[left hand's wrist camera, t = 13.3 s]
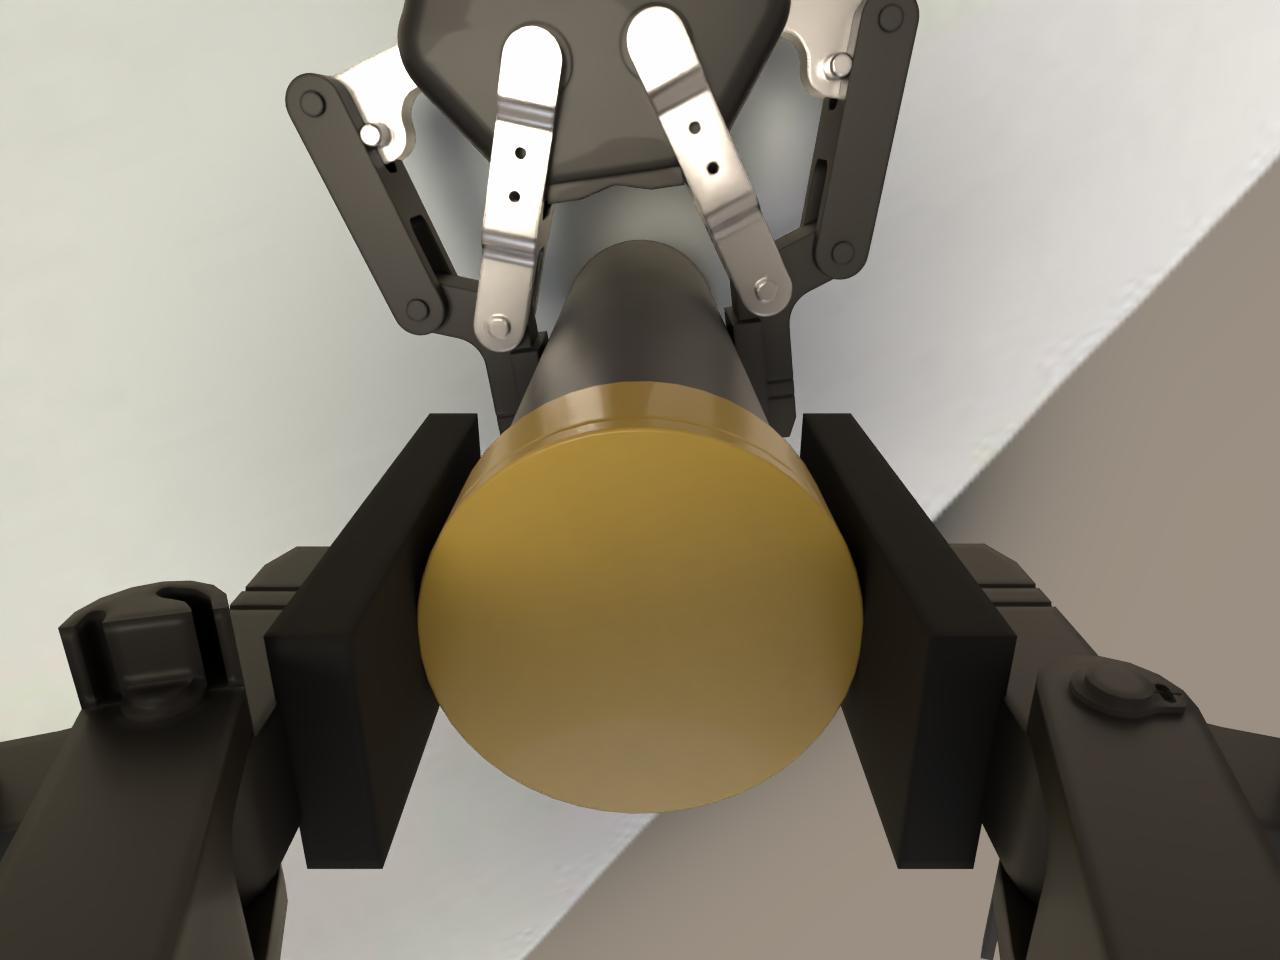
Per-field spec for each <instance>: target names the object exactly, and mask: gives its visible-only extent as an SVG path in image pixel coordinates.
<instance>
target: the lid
mask: <svg viewBox="0 0 1280 960" xmlns="http://www.w3.org/2000/svg"><path fill="white" fill-rule="evenodd" d="M863 622H864V611H863V596H862V591H861V587H860V582H859V578H858V573H857V569H856V567H855V564H854V562H853V559H852V556H851V554H850V551H849V549H848V546H847V544H846V542H845V540H844V538H843V536H842V534H841V533H840V530H839V528H838V526H837V524H836V522H835V520H834V518H833V516H832V514H831V512H830V510H829V508H828V506H827V504H826V502H825V500H824V498H823V496H822V494H821V492H820V490H819V488H818V486H817V484H816V483H815V481H814V479H813V477H812V476H811V474H810V472H809V470H808V469H807V467H806V465H805V464H804V462H803V461H802V460H801V459H800V457H799V456H798V455H797V453H796V452H795V451H794V450H793V448H792V447H791V446H790V445H789V444H788V443H787V442H786V441H785V440H784V439H783V438H782V437H781V436H780V435H779V434H778V433H777V432H776V431H775V430H774V429H773V428H772V427H770V426H769V425H768V424H766V423H765V422H764V421H762V420H761V419H759V418H758V417H757V416H755V415H754V414H753V413H751V412H749V411H748V410H746V409H744V408H742V407H740V406H738V405H736V404H735V403H733V402H731V401H729V400H727V399H724V398H722V397H719V396H716V395H714V394H711V393H709V392H706V391H703V390H699V389H695V388H691V387H687V386H682V385H678V384H671V383H661V382H652V381H637V382H618V383H611V384H604V385H597V386H593V387H589V388H586V389H582V390H579V391H575V392H572V393H569V394H566V395H564V396H562V397H559V398H557V399H555V400H552V401H550V402H548V403H545V404H544V405H542V406H540V407H539V408H537V409H535V410H534V411H532V412H530V413H529V414H527V415H525V416H524V417H522V418H521V419H520V420H518V421H517V422H516V423H515V424H513V425H512V426H511V427H510V428H508V429H507V430H506V431H505V432H503V433H502V434H501V435H500V436H499V437H498V438H497V440H496V441H495V442H494V443H493V444H492V445H491V446H490V447H489V448H488V449H487V450H486V451H485V453H484V454H483V455H482V457H481V458H480V460H479V461H478V462H477V464H476V465H475V467H474V468H473V469H472V471H471V473H470V475H469V477H468V479H467V481H466V483H465V485H464V487H463V488H462V490H461V492H460V494H459V496H458V498H457V500H456V502H455V504H454V506H453V508H452V510H451V512H450V514H449V516H448V518H447V520H446V522H445V524H444V526H443V528H442V530H441V532H440V534H439V536H438V539H437V541H436V542H435V544H434V546H433V548H432V550H431V552H430V555H429V558H428V561H427V564H426V567H425V570H424V573H423V576H422V579H421V585H420V591H419V597H418V603H417V626H418V635H419V644H420V653H421V658H422V662H423V665H424V669H425V672H426V676H427V679H428V681H429V684H430V686H431V688H432V690H433V692H434V695H435V697H436V699H437V701H438V703H439V705H440V706H441V708H442V709H443V711H444V713H445V714H446V716H447V717H448V719H449V721H450V722H451V724H452V725H453V726H454V727H455V728H456V730H457V731H458V732H459V733H460V734H461V736H462V737H463V738H464V739H465V740H466V742H467V743H468V744H469V745H470V746H471V747H473V748H474V749H475V750H476V751H477V752H478V753H479V754H480V755H481V756H482V757H483V758H484V759H485V760H487V761H488V762H489V763H491V764H492V765H493V766H495V767H496V768H498V769H499V770H500V771H502V772H503V773H504V774H506V775H507V776H509V777H511V778H513V779H514V780H516V781H518V782H520V783H521V784H523V785H525V786H527V787H528V788H530V789H533V790H535V791H537V792H540V793H542V794H545V795H547V796H549V797H552V798H554V799H557V800H561V801H564V802H567V803H570V804H574V805H577V806H581V807H586V808H592V809H597V810H602V811H610V812H622V813H661V812H669V811H678V810H685V809H689V808H694V807H699V806H703V805H707V804H711V803H714V802H717V801H720V800H723V799H726V798H729V797H732V796H734V795H737V794H739V793H741V792H743V791H745V790H747V789H750V788H752V787H754V786H756V785H758V784H760V783H761V782H763V781H765V780H766V779H768V778H770V777H771V776H773V775H775V774H776V773H778V772H779V771H781V770H782V769H783V768H785V767H786V766H787V765H789V764H790V763H791V762H792V761H794V760H795V759H796V758H798V757H799V756H800V755H801V754H802V753H803V752H804V751H805V750H806V749H807V748H808V747H809V746H810V745H811V744H812V743H813V742H814V741H815V740H816V739H817V738H818V737H819V736H820V734H821V733H822V732H823V731H824V729H825V728H826V727H827V725H828V724H829V723H830V721H831V720H832V719H833V717H834V716H835V714H836V712H837V711H838V709H839V707H840V706H841V704H842V702H843V700H844V699H845V697H846V695H847V692H848V690H849V687H850V685H851V683H852V680H853V678H854V675H855V673H856V669H857V665H858V661H859V656H860V650H861V641H862V632H863Z"/></svg>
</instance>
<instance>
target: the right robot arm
mask: <svg viewBox="0 0 1280 960" xmlns="http://www.w3.org/2000/svg"><path fill="white" fill-rule="evenodd" d="M918 22H919V8H918V4H917V1H916V0H405V3H404V8H403V12H402V15H401V18H400V22H399V27H398V45H396V46H394V47H392V48H390V49H388V50H386V51H384V52H382V53H379V54H377V55H375V56H373V57H371V58H369V59H367V60H365V61H363V62H361V63H359V64H357V65H355V66H353V67H350V68H348V69H346V70H344V71H342V72H340V73H338V74H336V75H334V76H325V75H320V74H314V73H305V74H301V75H299V76H297V77H296V78H295V79H293V80H292V82H291V83H290V84H289V86H288V88H287V91H286V96H285V102H286V108H287V111H288V114H289V116H290V118H291V120H292V122H293V124H294V125H295V127H296V129H297V131H298V133H299V135H300V137H301V139H302V141H303V143H304V145H305V147H306V149H307V150H308V152H309V154H310V156H311V158H312V160H313V162H314V164H315V166H316V168H317V170H318V172H319V174H320V175H321V177H322V179H323V181H324V183H325V185H326V187H327V189H328V191H329V193H330V195H331V197H332V198H333V200H334V202H335V204H336V206H337V208H338V210H339V212H340V214H341V216H342V218H343V220H344V222H345V223H346V225H347V227H348V229H349V231H350V233H351V235H352V237H353V239H354V241H355V243H356V245H357V246H358V248H359V250H360V252H361V254H362V256H363V258H364V260H365V262H366V264H367V266H368V268H369V270H370V271H371V273H372V275H373V277H374V279H375V281H376V283H377V285H378V287H379V289H380V291H381V293H382V295H383V296H384V298H385V300H386V302H387V304H388V306H389V308H390V310H391V312H392V314H393V316H394V318H395V319H396V321H397V323H398V324H399V325H400V326H401V327H402V328H403V329H404V330H405V331H407V332H409V333H411V334H415V335H427V334H430V333H436V334H441V335H446V336H450V337H455V338H459V339H463V340H465V341H467V342H469V343H471V344H472V345H473V346H475V347H476V348H477V349H478V350H479V352H480V353H481V355H482V356H483V358H484V361H485V364H486V368H487V373H488V378H489V383H490V388H491V393H492V397H493V402H494V407H495V412H496V415H497V422H498V427H499V430H500V435H501V434H502V433H503V432H505V431H506V430H507V429H508V428H510V427H511V424H512V422H513V420H514V417H515V415H516V413H517V411H518V408H519V406H520V404H521V402H522V399H523V397H524V395H525V392H526V390H527V388H528V386H529V383H530V381H531V379H532V377H533V374H534V372H535V370H536V368H537V365H538V363H539V361H540V358H541V356H542V354H543V352H544V349H545V347H546V345H547V343H548V334H547V331H543V332H538V330H537V324H536V319H535V314H536V308H537V302H538V296H539V289H540V283H541V276H542V270H543V263H544V257H545V251H546V246H547V242H548V238H549V234H550V228H551V222H552V216H553V209H554V203H560V202H567V201H574V200H581V199H584V198H586V197H588V196H590V195H593V194H595V193H597V192H599V191H602V190H604V189H606V188H608V187H611V186H613V185H621V186H628V187H636V188H643V189H658V188H665V187H672V186H679V185H686V187H687V189H688V191H689V194H690V196H691V198H692V200H693V202H694V204H695V207H696V209H697V211H698V213H699V215H700V217H701V219H702V221H703V223H704V225H705V227H706V229H707V232H708V234H709V236H710V238H711V240H712V242H713V245H714V247H715V249H716V251H717V253H718V255H719V258H720V260H721V262H722V264H723V266H724V269H725V271H726V273H727V275H728V277H729V279H730V287H731V297H732V307H726V308H724V310H725V320H726V328H727V331H728V333H729V335H730V337H731V340H732V342H733V344H734V347H735V349H736V351H737V353H738V356H739V358H740V360H741V362H742V365H743V367H744V369H745V371H746V374H747V376H748V378H749V380H750V383H751V385H752V387H753V389H754V392H755V394H756V396H757V398H758V401H759V403H760V405H761V408H762V410H763V412H764V414H765V417H766V419H767V421H768V423H769V426H770V427H772V428H773V429H774V430H775V431H776V432H777V433H778V434H779V435H780V436H781V437H782V438H783V437H790V434H791V431H792V428H793V425H794V422H795V419H796V410H795V396H794V382H793V368H792V355H791V341H790V327H789V320H790V315H791V311H792V309H793V307H794V305H795V304H796V302H797V301H798V300H799V299H800V298H801V297H802V296H803V295H804V294H806V293H807V292H809V291H811V290H813V289H815V288H817V287H819V286H821V285H823V284H824V283H826V282H828V281H830V280H832V279H847V278H850V277H852V276H854V275H855V274H857V273H858V272H859V271H860V270H861V269H862V268H863V266H864V265H865V263H866V261H867V258H868V254H869V249H870V245H871V240H872V235H873V231H874V226H875V221H876V217H877V212H878V207H879V203H880V198H881V194H882V189H883V184H884V180H885V175H886V170H887V166H888V161H889V156H890V152H891V147H892V143H893V138H894V133H895V129H896V124H897V119H898V115H899V110H900V105H901V101H902V96H903V92H904V87H905V82H906V78H907V73H908V68H909V64H910V59H911V54H912V50H913V45H914V41H915V36H916V31H917V27H918ZM779 37H783V38H785V39H787V40H789V41H790V42H791V43H792V44H793V45H794V46H795V48H796V49H797V51H798V53H799V57H800V63H801V65H800V76H801V81H802V84H803V86H804V88H805V89H806V90H807V91H808V92H809V93H810V94H811V95H812V96H814V97H817V98H820V99H824V100H823V106H822V111H821V117H820V122H819V127H818V133H817V138H816V144H815V149H814V154H813V160H812V165H811V171H810V176H809V182H808V187H807V192H806V198H805V203H804V209H803V214H802V219H801V225H800V228H798V229H796V230H794V231H792V232H790V233H789V234H787V235H785V236H783V237H781V238H779V239H777V240H775V241H774V240H773V238H772V236H771V233H770V231H769V229H768V226H767V224H766V222H765V219H764V217H763V215H762V212H761V209H760V205H759V202H758V199H757V196H756V194H755V191H754V189H753V187H752V185H751V182H750V180H749V178H748V175H747V173H746V171H745V168H744V166H743V164H742V161H741V159H740V157H739V154H738V152H737V150H736V148H735V145H734V143H733V141H732V138H731V136H730V134H729V131H730V129H731V127H732V126H733V124H734V122H735V120H736V118H737V116H738V114H739V112H740V111H741V109H742V107H743V105H744V103H745V101H746V99H747V97H748V96H749V94H750V92H751V90H752V88H753V86H754V84H755V82H756V81H757V79H758V77H759V75H760V73H761V71H762V69H763V67H764V65H765V64H766V62H767V60H768V58H769V56H770V54H771V52H772V50H773V49H774V47H775V45H776V43H777V41H778V39H779ZM421 92H423V93H424V94H425V95H426V96H427V98H428V99H429V100H430V101H431V102H432V103H433V104H434V105H435V106H436V107H437V108H438V109H439V110H440V111H441V112H442V113H443V114H444V115H445V116H446V117H447V118H448V119H449V120H450V122H451V123H452V124H453V125H454V126H455V127H456V128H457V129H458V130H459V131H460V132H461V133H462V134H463V135H464V136H465V137H466V138H467V139H468V140H469V141H470V142H471V143H472V144H473V146H474V147H475V148H476V149H477V150H478V151H479V152H480V153H481V154H482V155H483V156H484V157H485V158H486V159H487V160H488V161H489V162H490V163H491V164H490V172H489V180H488V188H487V195H486V203H485V211H484V219H483V227H482V239H481V241H482V262H481V269H480V277H479V280H474V279H470V278H465V277H461V276H457V273H456V271H455V269H454V267H453V265H452V263H451V261H450V259H449V257H448V255H447V253H446V251H445V249H444V247H443V245H442V242H441V240H440V238H439V236H438V234H437V232H436V230H435V228H434V226H433V224H432V222H431V220H430V218H429V216H428V214H427V212H426V209H425V207H424V205H423V203H422V201H421V199H420V197H419V195H418V193H417V191H416V189H415V187H414V185H413V183H412V181H411V178H410V176H409V174H408V172H407V170H406V168H405V166H404V164H403V162H402V160H404V159H405V158H407V157H408V156H409V155H410V154H411V152H412V151H413V149H414V146H415V141H416V134H415V129H414V126H413V123H412V118H411V110H412V105H413V102H414V100H415V98H416V97H417V96H418V95H419V94H420V93H421Z"/></svg>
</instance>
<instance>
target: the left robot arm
mask: <svg viewBox="0 0 1280 960" xmlns="http://www.w3.org/2000/svg"><path fill="white" fill-rule="evenodd" d="M480 458H481V456H480V443H479V429H478V416H477V413H430V414H429V415H428V417H427V418H426V419H425V421H424V422H423V423H422V425H421V426H420V427H419V429H418V430H417V431H416V433H415V434H414V435H413V437H412V438H411V439H410V441H409V442H408V443H407V445H406V446H405V447H404V449H403V450H402V451H401V453H400V454H399V455H398V457H397V458H396V459H395V461H394V462H393V463H392V465H391V466H390V467H389V469H388V470H387V471H386V473H385V474H384V475H383V477H382V478H381V479H380V481H379V482H378V483H377V485H376V486H375V487H374V489H373V490H372V491H371V493H370V494H369V495H368V497H367V498H366V499H365V501H364V502H363V503H362V505H361V506H360V507H359V509H358V510H357V511H356V513H355V514H354V516H353V517H352V518H351V520H350V521H349V522H348V524H347V525H346V526H345V528H344V529H343V530H342V532H341V533H340V534H339V536H338V537H337V538H336V540H335V541H334V542H333V544H332V545H331V546H330V547H295V548H294V549H292V550H290V551H288V552H287V553H285V554H283V555H281V556H280V557H278V558H276V559H275V560H273V561H271V562H269V563H268V564H266V565H264V567H263V568H262V569H261V570H260V571H259V572H258V573H257V575H256V576H255V577H254V578H253V579H252V580H251V581H250V583H249V584H248V585H247V586H246V591H242V592H241V593H240V594H239V595H238V596H237V598H236V599H235V600H234V601H233V602H232V603H231V604H230V610H229V605H228V600H227V595H226V594H225V593H224V592H223V591H221V590H220V589H218V588H217V587H215V586H214V585H211V584H206V583H200V582H195V581H167V582H158V583H153V584H148V585H142V586H137V587H132V588H129V589H126V590H123V591H120V592H117V593H114V594H111V595H108V596H105V597H103V598H100V599H98V600H96V601H94V602H93V603H91V604H89V605H87V606H85V607H83V608H82V609H80V610H78V611H76V612H74V613H73V614H72V615H71V616H70V617H69V618H68V619H67V620H66V621H65V622H64V623H63V624H62V625H61V626H60V627H59V628H58V629H59V633H60V636H61V639H62V643H63V646H64V650H65V653H66V657H67V660H68V663H69V667H70V670H71V674H72V677H73V681H74V684H75V687H76V691H77V694H78V698H79V701H80V705H81V708H82V710H81V712H80V714H79V715H78V717H77V719H76V721H75V723H74V725H73V727H72V728H69V729H65V730H61V731H57V732H51V733H46V734H41V735H36V736H31V737H25V738H20V739H15V740H10V741H4V742H0V960H280V955H281V948H282V940H283V933H284V925H285V918H286V910H287V902H288V899H287V892H286V885H285V880H284V875H283V870H282V865H281V862H282V860H283V858H284V856H285V854H286V852H287V850H288V848H289V846H290V844H291V842H292V840H293V838H294V836H295V834H296V832H297V830H298V828H300V833H301V838H302V843H303V849H304V854H305V859H306V864H307V869H383V866H384V863H385V860H386V857H387V855H388V852H389V849H390V846H391V843H392V840H393V837H394V835H395V832H396V829H397V826H398V823H399V820H400V817H401V814H402V812H403V809H404V806H405V803H406V800H407V797H408V794H409V792H410V789H411V786H412V783H413V780H414V777H415V774H416V772H417V769H418V766H419V763H420V760H421V757H422V754H423V752H424V749H425V746H426V743H427V740H428V737H429V734H430V732H431V729H432V726H433V723H434V720H435V717H436V714H437V712H438V709H439V706H440V705H439V703H438V701H437V699H436V697H435V695H434V692H433V690H432V688H431V686H430V684H429V681H428V679H427V676H426V672H425V669H424V665H423V662H422V658H421V653H420V644H419V635H418V626H417V603H418V597H419V591H420V585H421V579H422V576H423V573H424V570H425V567H426V564H427V561H428V558H429V555H430V552H431V550H432V548H433V546H434V544H435V542H436V541H437V539H438V536H439V534H440V532H441V530H442V528H443V526H444V524H445V522H446V520H447V518H448V516H449V514H450V512H451V510H452V508H453V506H454V504H455V502H456V500H457V498H458V496H459V494H460V492H461V490H462V488H463V487H464V485H465V483H466V481H467V479H468V477H469V475H470V473H471V471H472V469H473V468H474V467H475V465H476V464H477V462H478V461H479V460H480ZM800 459H801V460H802V461H803V462H804V464H805V465H806V467H807V469H808V470H809V472H810V474H811V476H812V477H813V479H814V481H815V483H816V484H817V486H818V488H819V490H820V492H821V494H822V496H823V498H824V500H825V502H826V504H827V506H828V508H829V510H830V512H831V514H832V516H833V518H834V520H835V522H836V524H837V526H838V528H839V530H840V533H841V534H842V536H843V538H844V540H845V542H846V544H847V546H848V549H849V551H850V554H851V556H852V559H853V562H854V564H855V567H856V569H857V573H858V578H859V582H860V587H861V591H862V596H863V611H864V622H863V632H862V641H861V650H860V656H859V661H858V665H857V669H856V673H855V675H854V678H853V680H852V683H851V685H850V687H849V690H848V692H847V695H846V697H845V699H844V700H843V702H842V704H841V707H842V710H843V713H844V716H845V719H846V721H847V724H848V727H849V730H850V733H851V736H852V738H853V741H854V744H855V747H856V750H857V753H858V756H859V759H860V761H861V764H862V767H863V770H864V773H865V776H866V779H867V781H868V784H869V787H870V790H871V793H872V796H873V799H874V801H875V804H876V807H877V810H878V813H879V816H880V819H881V821H882V824H883V827H884V830H885V833H886V836H887V839H888V841H889V844H890V847H891V850H892V853H893V856H894V859H895V861H896V864H897V867H898V869H973V867H974V862H975V857H976V851H977V846H978V841H979V836H980V831H981V825H982V824H983V826H984V828H985V830H986V832H987V834H988V836H989V838H990V840H991V842H992V844H993V846H994V848H995V850H996V852H997V854H998V856H999V858H1000V860H999V865H998V870H997V875H996V880H995V885H994V889H993V894H992V899H991V904H990V909H989V914H988V919H987V924H986V929H985V934H984V939H983V945H982V952H981V958H984V959H988V960H993V957H994V952H995V947H996V943H997V941H998V946H999V953H1000V960H1280V738H1276V737H1271V736H1266V735H1261V734H1255V733H1250V732H1245V731H1240V730H1234V729H1229V728H1223V727H1219V726H1215V725H1211V724H1207V723H1206V721H1205V719H1204V717H1203V716H1202V714H1201V712H1200V710H1199V708H1198V707H1197V706H1196V705H1195V703H1194V702H1193V701H1192V700H1191V699H1190V698H1189V697H1188V695H1187V694H1186V693H1185V692H1184V691H1183V690H1182V689H1180V688H1179V687H1177V686H1176V685H1174V684H1173V683H1171V682H1169V681H1168V680H1166V679H1165V678H1163V677H1162V676H1160V675H1158V674H1156V673H1153V672H1151V671H1149V670H1146V669H1144V668H1141V667H1139V666H1136V665H1134V664H1131V663H1128V662H1123V661H1119V660H1115V659H1110V658H1106V657H1101V656H1098V655H1097V654H1096V652H1095V651H1094V650H1093V649H1092V648H1091V647H1090V646H1089V644H1088V643H1087V642H1086V641H1085V640H1084V639H1083V638H1082V636H1081V635H1080V634H1079V633H1078V632H1077V631H1076V630H1075V628H1074V627H1073V626H1072V625H1071V624H1070V623H1069V622H1068V620H1067V619H1066V618H1065V617H1064V616H1063V615H1062V614H1061V612H1060V611H1059V610H1058V609H1057V608H1056V607H1052V606H1051V601H1050V600H1049V599H1048V598H1047V596H1046V595H1045V594H1044V593H1043V592H1042V591H1041V590H1040V589H1039V588H1036V587H1035V583H1034V582H1033V580H1032V579H1031V578H1030V577H1029V576H1028V575H1027V574H1026V573H1025V571H1024V570H1023V569H1022V568H1021V567H1020V566H1019V565H1018V563H1017V562H1015V561H1013V560H1012V559H1010V558H1008V557H1006V556H1005V555H1003V554H1001V553H999V552H998V551H996V550H994V549H993V548H991V547H989V546H987V545H986V544H948V543H947V541H946V540H945V539H944V537H943V536H942V535H941V533H940V532H939V531H938V529H937V528H936V527H935V525H934V524H933V523H932V521H931V520H930V519H929V517H928V516H927V515H926V513H925V512H924V511H923V509H922V508H921V507H920V505H919V504H918V503H917V501H916V500H915V499H914V497H913V496H912V495H911V493H910V492H909V491H908V489H907V488H906V487H905V485H904V484H903V483H902V481H901V480H900V479H899V477H898V476H897V475H896V473H895V472H894V471H893V469H892V468H891V467H890V465H889V464H888V463H887V461H886V460H885V459H884V457H883V456H882V455H881V453H880V452H879V451H878V449H877V448H876V447H875V445H874V444H873V443H872V441H871V440H870V439H869V437H868V436H867V435H866V433H865V432H864V431H863V429H862V428H861V427H860V425H859V424H858V423H857V421H856V420H855V419H854V417H853V416H852V415H851V413H803V423H802V437H801V450H800Z"/></svg>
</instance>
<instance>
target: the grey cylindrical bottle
mask: <svg viewBox="0 0 1280 960" xmlns="http://www.w3.org/2000/svg"><path fill="white" fill-rule="evenodd" d="M637 381H652V382H661V383H671V384H678V385H682V386H687V387H691V388H695V389H699V390H703V391H706V392H709V393H711V394H714V395H716V396H719V397H722V398H724V399H727V400H729V401H731V402H733V403H735V404H736V405H738V406H740V407H742V408H744V409H746V410H748V411H749V412H751V413H753V414H754V415H755V416H757V417H758V418H759V419H761V420H762V421H764V422H765V423H766V424H768V425H769V423H768V421H767V419H766V417H765V414H764V412H763V410H762V408H761V405H760V403H759V401H758V398H757V396H756V394H755V392H754V389H753V387H752V385H751V383H750V380H749V378H748V376H747V374H746V371H745V369H744V367H743V365H742V362H741V360H740V358H739V356H738V353H737V351H736V349H735V347H734V344H733V342H732V340H731V337H730V335H729V333H728V331H727V328H726V326H725V324H724V322H723V319H722V317H721V315H720V313H719V310H718V308H717V306H716V304H715V301H714V299H713V297H712V295H711V292H710V290H709V288H708V286H707V283H706V281H705V279H704V278H703V276H702V274H701V272H700V271H699V270H698V268H697V267H696V266H695V265H694V264H693V263H692V262H691V261H690V260H689V259H688V258H687V257H686V256H685V255H683V254H682V253H681V252H679V251H677V250H675V249H674V248H672V247H670V246H667V245H665V244H662V243H658V242H654V241H646V240H633V241H627V242H622V243H619V244H615V245H613V246H611V247H609V248H606V249H605V250H603V251H601V252H600V253H598V254H597V255H596V256H594V257H593V258H592V259H591V260H590V261H589V262H588V263H587V264H586V265H585V266H584V267H583V269H582V270H581V271H580V273H579V274H578V276H577V278H576V280H575V282H574V284H573V286H572V288H571V290H570V293H569V295H568V297H567V299H566V302H565V304H564V306H563V309H562V311H561V313H560V315H559V318H558V320H557V322H556V324H555V327H554V329H553V331H552V333H551V336H550V338H549V340H548V343H547V345H546V347H545V349H544V352H543V354H542V356H541V358H540V361H539V363H538V365H537V368H536V370H535V372H534V374H533V377H532V379H531V381H530V383H529V386H528V388H527V390H526V392H525V395H524V397H523V399H522V402H521V404H520V406H519V408H518V411H517V413H516V415H515V417H514V420H513V422H512V424H511V426H512V425H513V424H515V423H516V422H517V421H518V420H520V419H521V418H522V417H524V416H525V415H527V414H529V413H530V412H532V411H534V410H535V409H537V408H539V407H540V406H542V405H544V404H545V403H548V402H550V401H552V400H555V399H557V398H559V397H562V396H564V395H566V394H569V393H572V392H575V391H579V390H582V389H586V388H589V387H593V386H597V385H604V384H611V383H618V382H637Z"/></svg>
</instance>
